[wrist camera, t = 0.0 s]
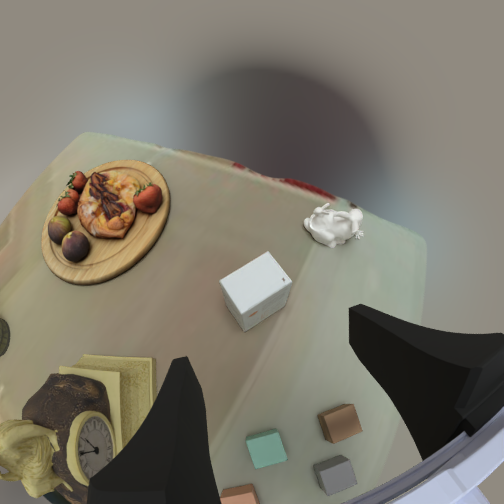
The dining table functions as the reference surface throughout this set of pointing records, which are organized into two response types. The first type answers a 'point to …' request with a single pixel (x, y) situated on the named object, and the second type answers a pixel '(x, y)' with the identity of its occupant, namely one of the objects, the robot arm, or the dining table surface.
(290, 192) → the dining table surface
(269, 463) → the green block
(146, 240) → the wooden plate with food
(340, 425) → the walnut block
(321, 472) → the charcoal block
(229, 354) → the dining table surface
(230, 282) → the small box
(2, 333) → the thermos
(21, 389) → the dining table surface
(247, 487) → the terracotta block
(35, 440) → the decorative clock
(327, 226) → the rabbit figurine
